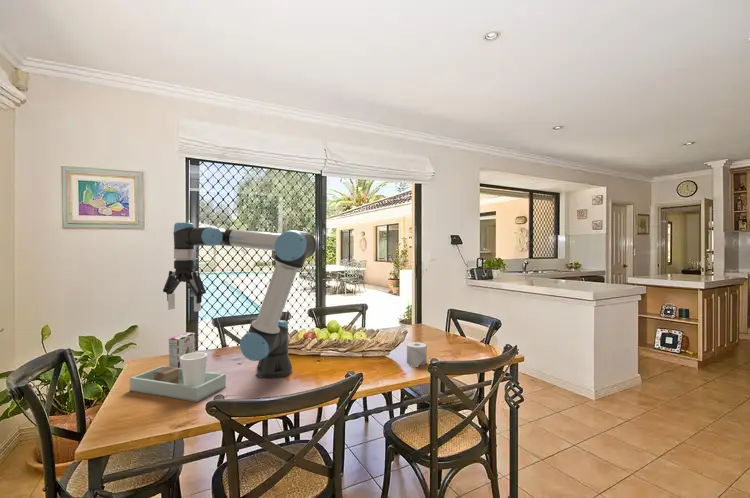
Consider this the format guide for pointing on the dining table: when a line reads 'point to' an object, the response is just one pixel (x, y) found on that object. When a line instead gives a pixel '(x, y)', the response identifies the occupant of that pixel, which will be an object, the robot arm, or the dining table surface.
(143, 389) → the tote
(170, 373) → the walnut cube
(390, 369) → the dining table surface
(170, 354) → the candy bar box
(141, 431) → the dining table surface
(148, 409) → the dining table surface
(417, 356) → the toilet tissue
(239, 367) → the dining table surface
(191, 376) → the foam cup
